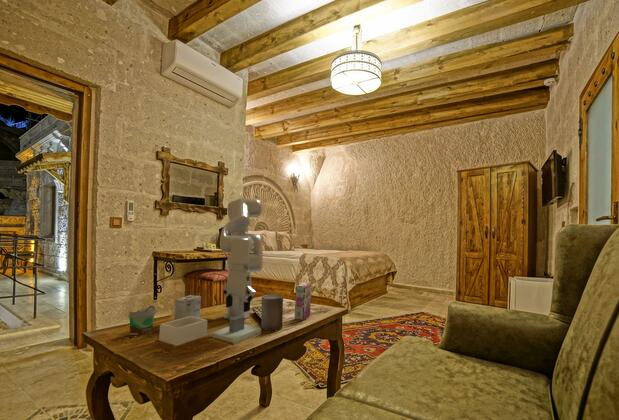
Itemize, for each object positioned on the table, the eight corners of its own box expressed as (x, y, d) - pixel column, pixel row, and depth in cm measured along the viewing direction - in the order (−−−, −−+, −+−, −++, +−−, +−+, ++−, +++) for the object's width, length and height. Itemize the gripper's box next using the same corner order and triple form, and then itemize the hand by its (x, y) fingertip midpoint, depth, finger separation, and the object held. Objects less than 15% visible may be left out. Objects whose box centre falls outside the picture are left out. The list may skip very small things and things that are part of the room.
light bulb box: (188, 317, 154) (190, 294, 155) (200, 318, 152) (201, 295, 153) (173, 323, 144) (174, 299, 145) (185, 324, 142) (186, 300, 143)
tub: (189, 333, 131) (190, 315, 131) (206, 337, 126) (207, 319, 126) (158, 343, 119) (160, 324, 119) (176, 348, 114) (177, 328, 114)
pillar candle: (286, 326, 144) (287, 292, 145) (274, 331, 135) (275, 296, 136) (268, 323, 148) (269, 290, 150) (256, 328, 140) (257, 294, 141)
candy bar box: (303, 320, 153) (304, 286, 154) (294, 319, 155) (295, 285, 156) (310, 315, 164) (311, 283, 165) (301, 314, 165) (302, 282, 166)
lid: (239, 328, 139) (239, 311, 139) (260, 333, 132) (261, 315, 133) (210, 339, 125) (211, 319, 125) (233, 345, 118) (234, 325, 119)
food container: (140, 339, 122) (142, 313, 122) (127, 338, 123) (128, 312, 124) (161, 330, 134) (163, 306, 134) (149, 328, 135) (150, 305, 136)
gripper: (261, 268, 129) (259, 310, 129) (230, 264, 138) (229, 303, 138) (249, 271, 123) (247, 315, 123) (217, 266, 132) (215, 307, 131)
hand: (237, 308), depth 130 cm, fingers open, 9 cm apart
